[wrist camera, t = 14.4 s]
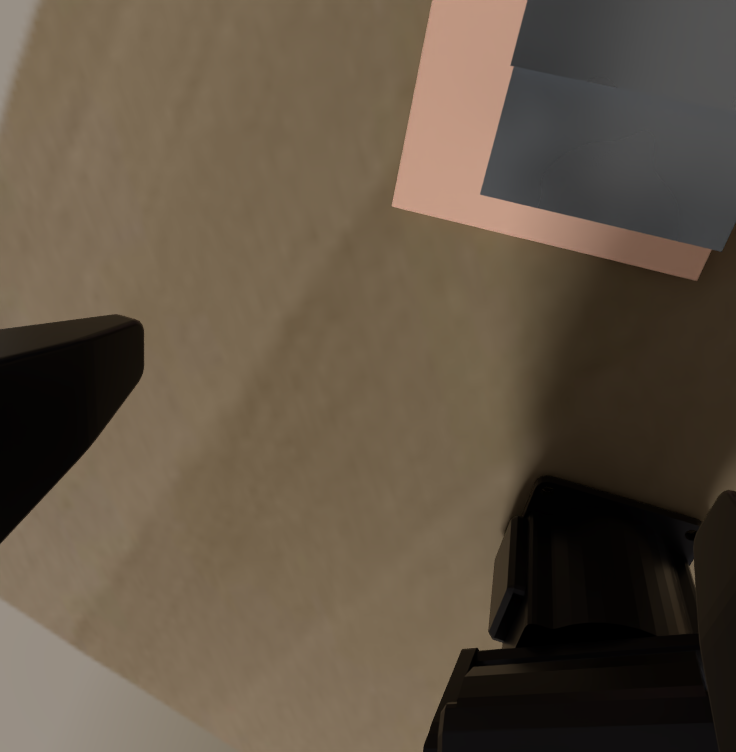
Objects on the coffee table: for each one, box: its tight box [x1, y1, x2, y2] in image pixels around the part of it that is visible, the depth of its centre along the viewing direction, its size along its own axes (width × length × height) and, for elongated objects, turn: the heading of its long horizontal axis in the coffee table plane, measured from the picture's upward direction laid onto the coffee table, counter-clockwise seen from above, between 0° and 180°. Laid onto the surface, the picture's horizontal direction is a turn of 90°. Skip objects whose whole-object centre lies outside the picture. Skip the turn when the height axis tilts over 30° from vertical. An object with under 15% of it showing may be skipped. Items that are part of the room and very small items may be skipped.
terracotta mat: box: [392, 0, 712, 281], centre depth 18 cm, size 10×10×1 cm
